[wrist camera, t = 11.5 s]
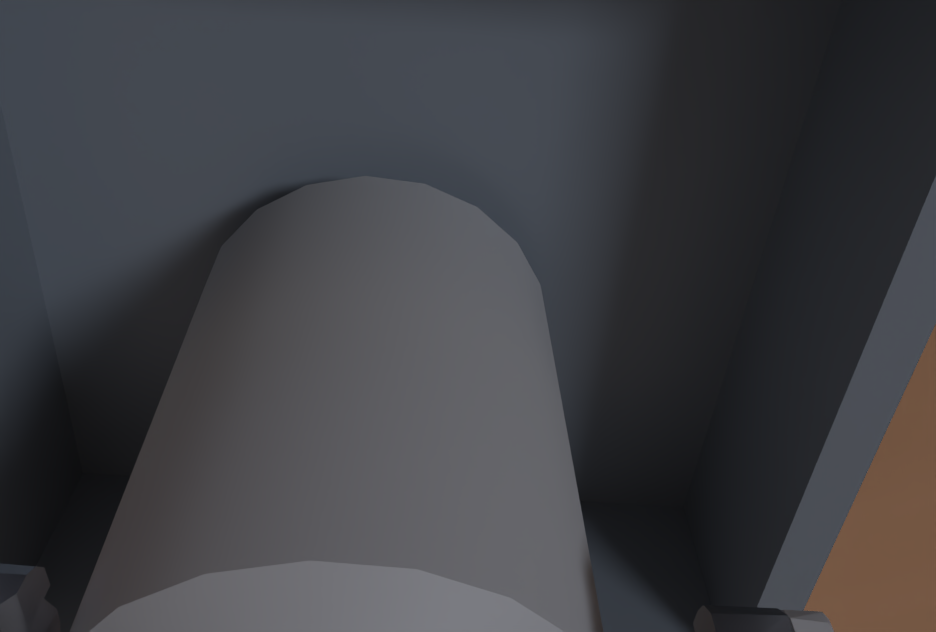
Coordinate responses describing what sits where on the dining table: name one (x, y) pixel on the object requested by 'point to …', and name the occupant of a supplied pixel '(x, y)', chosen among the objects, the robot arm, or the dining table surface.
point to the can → (355, 436)
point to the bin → (522, 217)
